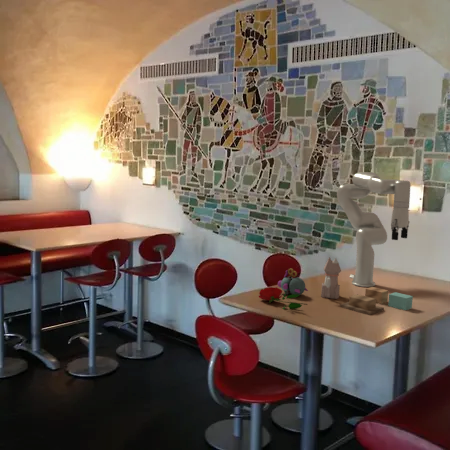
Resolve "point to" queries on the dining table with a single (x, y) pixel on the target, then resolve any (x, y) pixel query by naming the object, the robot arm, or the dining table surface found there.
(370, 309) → the pedestal board
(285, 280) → the toy
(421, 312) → the dining table surface
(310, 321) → the dining table surface
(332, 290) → the toy
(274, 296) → the flower
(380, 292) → the tan block
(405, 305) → the teal brick
